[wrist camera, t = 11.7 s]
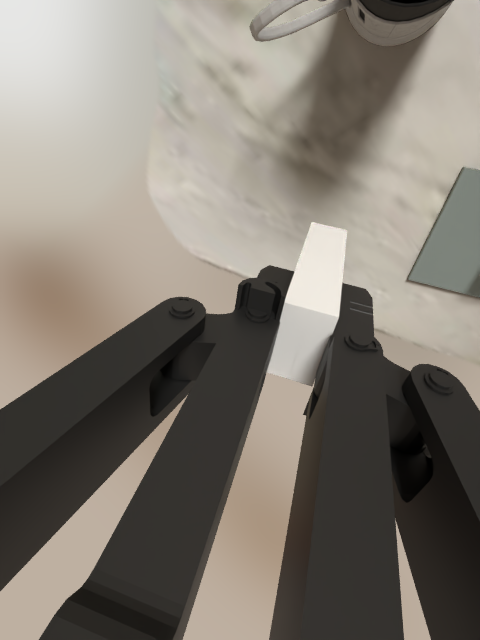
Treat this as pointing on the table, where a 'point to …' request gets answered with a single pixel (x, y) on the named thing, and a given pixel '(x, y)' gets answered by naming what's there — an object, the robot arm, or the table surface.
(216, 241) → the table surface
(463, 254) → the mat
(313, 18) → the tall grey mug
